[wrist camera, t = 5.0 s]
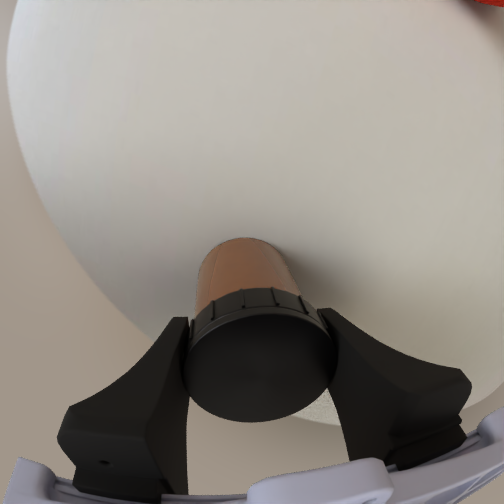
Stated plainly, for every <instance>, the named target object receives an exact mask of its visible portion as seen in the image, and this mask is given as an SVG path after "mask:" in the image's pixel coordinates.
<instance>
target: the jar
mask: <svg viewBox="0 0 504 504" xmlns="http://www.w3.org/2000/svg"><path fill="white" fill-rule="evenodd" d="M271 287H274V288H275V289H280V290H284V291H287V292H290V293H292V294H295V295H297V296H299V295H301V293H300V291H299V289H298V287H297V285H296V283H295V281H294V279H293V277H292V275H291V273H290V271H289V269H288V267H287V265H286V263H285V261H284V259H283V257H282V256H281V254H280V253H279V252H278V251H277V250H276V249H275V248H274V247H272V246H271V245H269V244H268V243H266V242H263V241H261V240H257V239H253V238H238V239H233V240H229V241H226V242H224V243H222V244H220V245H218V246H217V247H215V248H214V249H213V250H212V251H211V252H210V253H209V254H208V255H207V256H206V258H205V259H204V261H203V262H202V265H201V267H200V270H199V275H198V284H197V294H196V305H195V315H194V319H195V317H196V316H197V315H198V314H199V313H200V312H201V311H202V310H203V309H204V308H205V307H206V306H207V305H209V304H210V301H211V300H213V301H215V300H216V299H218V298H220V297H222V296H224V295H226V294H229V293H232V292H235V291H238V290H239V289H240V288H242V289H248V288H271ZM301 296H302V295H301ZM302 298H303V297H302Z"/></svg>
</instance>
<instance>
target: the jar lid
mask: <svg viewBox="0 0 504 504" xmlns="http://www.w3.org/2000/svg"><path fill="white" fill-rule="evenodd" d="M327 330H328V327H327V325H326V323H325V322H324V320H323V318H322V316H321V314H320V312H319V311H318V312H316V310H315V309H314V308H313V307H312V306H311V305H310V304H309V303H308V302H306V301H305V300H304V299H303V298H302V296H301V295H299V296H297V295H295V294H292V293H290V292H287V291H284V290H280V289H275V288H274V287H271V288H248V289H242V288H240V289H239V290H238V291H235V292H232V293H229V294H226V295H224V296H222V297H220V298H218V299H216V300H215V301H213V300H211V301H210V304H209V305H207V306H206V307H205V308H204V309H203V310H202V311H201V312H200V313H199V314H198V315H197V316H196V317H195V319H192V320H191V323H190V327H189V330H188V332H187V336H186V342H185V350H184V354H183V358H182V362H183V370H182V376H183V382H184V385H185V388H186V390H187V392H188V394H189V395H190V397H191V398H192V399H193V400H194V401H195V402H196V403H197V404H198V405H199V406H200V407H201V408H203V409H204V410H206V411H207V412H209V413H211V414H213V415H215V416H218V417H220V418H224V419H227V420H231V421H237V422H265V421H271V420H276V419H280V418H283V417H286V416H289V415H291V414H294V413H296V412H298V411H300V410H302V409H303V408H305V407H307V406H308V405H310V404H311V403H312V402H314V401H315V400H316V399H317V398H318V397H319V396H320V395H321V394H322V393H323V392H324V391H325V390H326V388H327V387H328V385H329V384H330V382H331V380H332V378H333V376H334V373H335V370H336V364H337V354H336V349H335V346H334V344H333V342H332V340H331V338H330V336H329V334H328V332H327Z"/></svg>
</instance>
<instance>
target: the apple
mask: <svg viewBox="0 0 504 504" xmlns="http://www.w3.org/2000/svg"><path fill="white" fill-rule="evenodd" d="M474 1H477V2H480V3H484V4H489V5H494V6H499V7H504V0H474Z"/></svg>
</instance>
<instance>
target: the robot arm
mask: <svg viewBox="0 0 504 504" xmlns="http://www.w3.org/2000/svg"><path fill="white" fill-rule="evenodd" d="M318 311H319V312H320V314H321V316H322V318H323V320H324V322H325V323H326V325H327V327H328V330H327V332H328V334H329V336H330V338H331V340H332V342H333V344H334V346H335V349H336V354H337V364H336V370H335V373H334V376H333V378H332V380H331V382H330V384H329V385H328V387H327V388H328V391H329V393H330V395H331V397H332V400H333V402H334V405H335V407H336V410H337V413H338V416H339V420H340V423H341V427H342V430H343V434H344V439H345V442H346V447H347V451H348V456H349V460H350V462H346V463H342V464H338V465H333V466H328V467H323V468H318V469H313V470H307V471H301V472H294V473H287V474H281V475H277V476H272V477H268V478H265V479H263V480H261V481H258V482H256V483H254V484H253V485H252V486H251V487H250V489H249V490H248V491H247V494H235V495H189V494H188V480H187V479H188V478H187V450H186V425H187V414H188V406H189V398H190V395H189V394H188V392H187V390H186V388H185V385H184V382H183V376H182V370H183V362H182V358H183V354H184V350H185V342H186V336H187V332H188V330H189V322H188V317H173V318H172V319H171V320H170V322H169V323H168V325H167V326H166V328H165V329H164V331H163V332H162V333H161V335H160V336H159V337H158V339H157V340H156V341H155V343H154V344H153V345H152V346H151V348H150V349H149V350H148V351H147V352H146V354H145V355H144V356H143V357H142V358H141V359H140V360H139V361H138V362H137V363H136V364H135V365H134V366H133V367H132V368H131V369H130V370H129V371H128V372H127V373H125V374H124V375H123V376H121V377H120V378H119V379H117V380H116V381H115V382H113V383H112V384H111V385H109V386H108V387H106V388H105V389H103V390H102V391H100V392H98V393H96V394H95V395H93V396H91V397H89V398H87V399H85V400H83V401H81V402H78V403H76V404H74V405H72V406H69V408H68V410H67V412H66V414H65V416H64V419H63V422H62V424H61V427H60V430H59V433H58V435H57V440H58V444H59V445H60V447H61V448H62V450H63V451H64V453H65V454H66V455H67V456H68V458H69V459H70V460H71V461H72V462H73V464H74V465H75V466H76V470H75V475H74V478H73V480H69V479H65V478H61V477H57V476H56V475H55V474H54V473H53V471H51V469H50V468H48V467H47V466H45V465H43V464H41V463H38V462H35V461H31V460H28V459H25V458H22V457H18V460H17V462H16V465H15V468H14V471H13V473H12V476H11V479H10V482H9V485H8V488H7V491H6V494H5V497H4V500H3V504H457V503H459V502H460V501H462V500H464V499H465V498H467V497H468V496H470V495H472V494H473V493H474V492H476V491H478V490H479V489H481V488H482V487H484V486H485V485H487V484H488V483H490V482H491V481H493V480H494V479H496V478H497V477H499V476H500V475H501V474H502V473H503V472H504V407H501V408H499V409H497V410H496V411H494V412H492V413H490V414H489V415H487V416H486V417H485V418H483V420H482V421H481V422H480V423H479V425H478V426H477V429H476V430H473V431H471V432H469V433H468V434H465V433H464V431H463V430H462V428H461V427H460V425H459V424H461V422H462V419H461V418H460V416H459V415H458V414H459V413H460V411H461V409H462V408H463V406H464V405H465V403H466V401H467V400H468V398H469V396H470V393H471V389H472V384H471V382H470V381H469V379H468V378H467V377H466V376H465V374H464V373H463V372H462V371H461V370H460V369H457V368H452V367H446V366H441V365H436V364H433V363H429V362H425V361H422V360H419V359H416V358H414V357H411V356H408V355H406V354H403V353H401V352H399V351H397V350H395V349H393V348H391V347H389V346H387V345H385V344H383V343H381V342H379V341H378V340H376V339H374V338H373V337H371V336H370V335H368V334H367V333H365V332H364V331H362V330H361V329H359V328H358V327H356V326H355V325H354V324H352V323H351V322H349V321H348V320H347V319H345V318H344V317H343V316H341V315H340V314H339V313H337V312H336V311H335V310H333V309H332V308H322V309H317V312H318Z"/></svg>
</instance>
